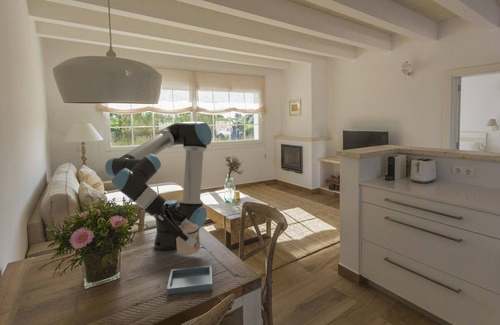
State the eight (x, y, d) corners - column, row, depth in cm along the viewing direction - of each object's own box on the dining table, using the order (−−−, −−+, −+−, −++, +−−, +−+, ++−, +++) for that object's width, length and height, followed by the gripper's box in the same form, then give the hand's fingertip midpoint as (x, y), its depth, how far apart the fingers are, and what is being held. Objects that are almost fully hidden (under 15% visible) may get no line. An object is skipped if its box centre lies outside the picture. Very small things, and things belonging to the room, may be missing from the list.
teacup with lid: (200, 254, 103) (198, 224, 101) (175, 256, 101) (173, 226, 100) (201, 241, 114) (199, 214, 113) (178, 242, 113) (176, 215, 111)
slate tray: (171, 276, 115) (171, 269, 115) (211, 271, 118) (211, 265, 118) (167, 296, 102) (166, 288, 102) (212, 290, 105) (212, 283, 104)
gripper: (150, 200, 115) (189, 232, 119) (136, 220, 91) (186, 259, 96) (162, 186, 115) (201, 219, 119) (151, 203, 91) (201, 243, 96)
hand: (195, 237), depth 108 cm, fingers closed on teacup with lid, 12 cm apart
